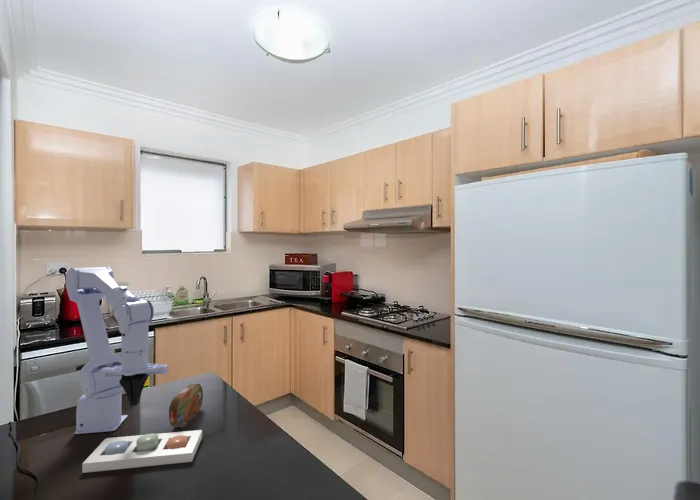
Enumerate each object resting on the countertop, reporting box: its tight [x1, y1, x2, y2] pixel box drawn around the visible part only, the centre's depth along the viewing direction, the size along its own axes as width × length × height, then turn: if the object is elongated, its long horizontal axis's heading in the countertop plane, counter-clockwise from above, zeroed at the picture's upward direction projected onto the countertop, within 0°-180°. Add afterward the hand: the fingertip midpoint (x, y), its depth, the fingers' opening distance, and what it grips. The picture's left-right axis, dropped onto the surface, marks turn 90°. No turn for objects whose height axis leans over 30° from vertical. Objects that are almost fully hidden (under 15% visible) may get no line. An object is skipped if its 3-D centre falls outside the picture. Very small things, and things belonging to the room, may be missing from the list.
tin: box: [168, 383, 204, 428], centre depth 98 cm, size 15×3×8 cm, turn 179°
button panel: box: [81, 429, 203, 474], centre depth 81 cm, size 22×10×2 cm, turn 101°
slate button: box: [105, 441, 128, 455], centre depth 80 cm, size 4×4×2 cm
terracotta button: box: [167, 435, 188, 449], centre depth 82 cm, size 4×4×2 cm
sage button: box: [136, 433, 158, 452], centre depth 81 cm, size 4×4×2 cm
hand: (134, 404), depth 86 cm, fingers closed
